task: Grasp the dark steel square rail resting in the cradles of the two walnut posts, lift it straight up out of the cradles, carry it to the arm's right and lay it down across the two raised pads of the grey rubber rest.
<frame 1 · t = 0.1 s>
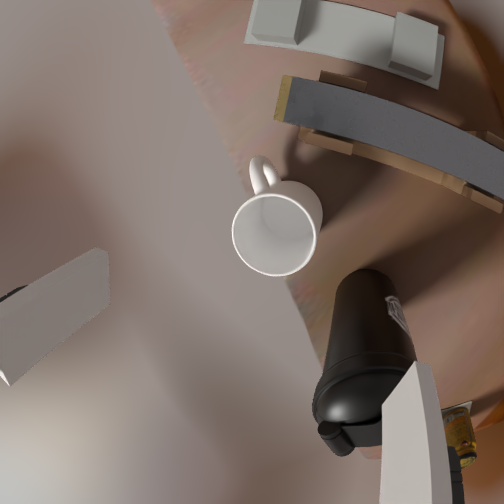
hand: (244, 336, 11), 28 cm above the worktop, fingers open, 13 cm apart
condiment: (450, 416, 41), on the worktop
rest: (346, 31, 27), on the worktop
rack: (401, 140, 30), on the worktop
mug: (286, 197, 37), on the worktop
water bottle: (365, 296, 39), on the worktop
rail: (417, 140, 23), point 8 cm above the worktop, touching rack
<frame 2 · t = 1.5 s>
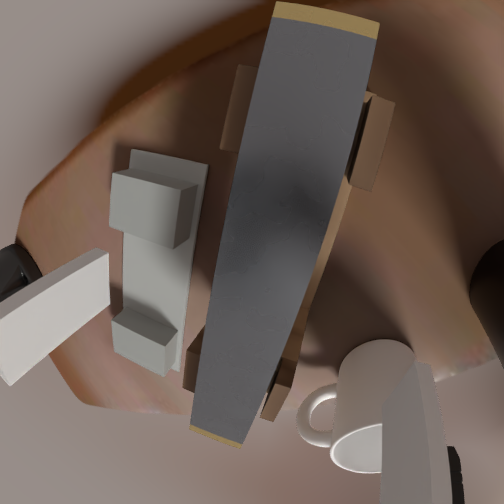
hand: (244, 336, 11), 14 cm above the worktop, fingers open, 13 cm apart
rest: (155, 275, 30), on the worktop
rack: (292, 228, 24), on the worktop
mug: (360, 369, 27), on the worktop
rail: (271, 268, 17), point 8 cm above the worktop, touching rack
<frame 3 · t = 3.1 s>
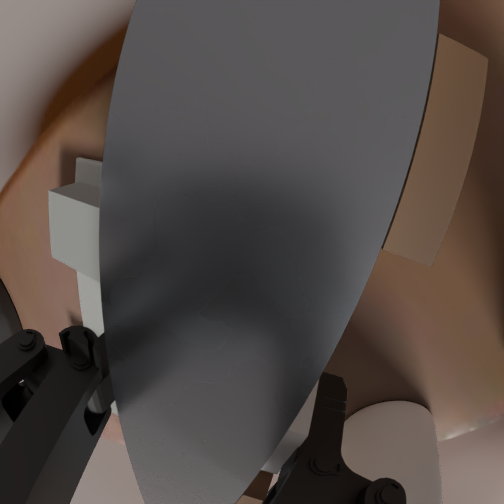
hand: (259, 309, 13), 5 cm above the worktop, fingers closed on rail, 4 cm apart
rest: (114, 312, 23), on the worktop
rack: (280, 267, 17), on the worktop
mug: (364, 429, 20), on the worktop
rail: (233, 358, 10), point 8 cm above the worktop, touching gripper, rack
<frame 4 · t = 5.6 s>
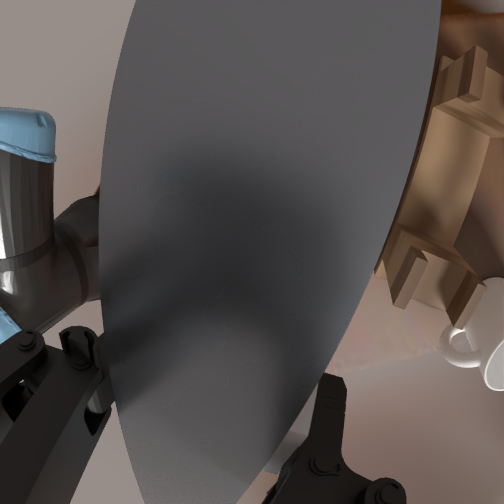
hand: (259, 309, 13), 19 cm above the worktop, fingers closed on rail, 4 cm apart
rack: (443, 176, 24), on the worktop
mug: (474, 309, 27), on the worktop
rail: (233, 359, 10), point 22 cm above the worktop, touching gripper
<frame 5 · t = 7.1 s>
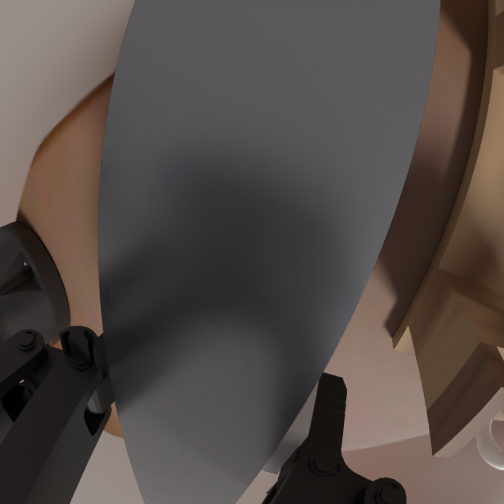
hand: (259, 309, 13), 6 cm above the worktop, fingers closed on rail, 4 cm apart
rail: (233, 359, 10), point 9 cm above the worktop, touching gripper
when the fingers open (2 cm above the worktop, at t = 8.2 s): rail drops 2 cm, resting on rest.
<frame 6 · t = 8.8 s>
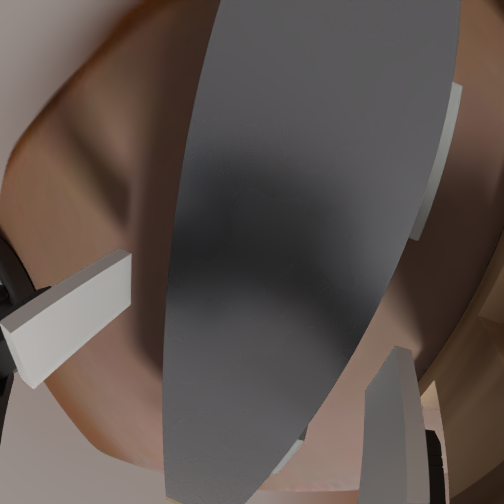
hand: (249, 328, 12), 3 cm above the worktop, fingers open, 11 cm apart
rest: (285, 300, 14), on the worktop
rail: (264, 343, 11), point 3 cm above the worktop, touching rest
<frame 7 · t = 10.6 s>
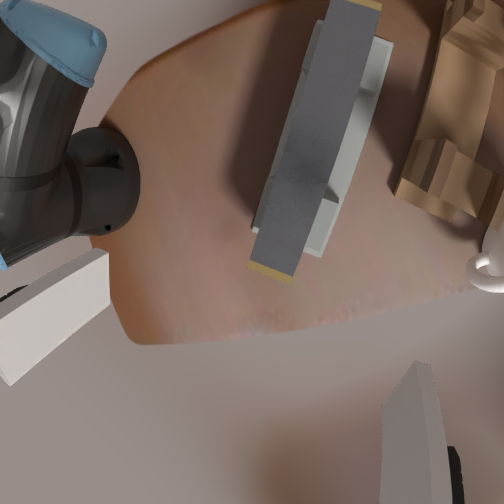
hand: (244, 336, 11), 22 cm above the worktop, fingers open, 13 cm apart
rest: (323, 135, 27), on the worktop
rack: (456, 103, 22), on the worktop
mug: (494, 246, 25), on the worktop
rail: (320, 133, 24), point 3 cm above the worktop, touching rest
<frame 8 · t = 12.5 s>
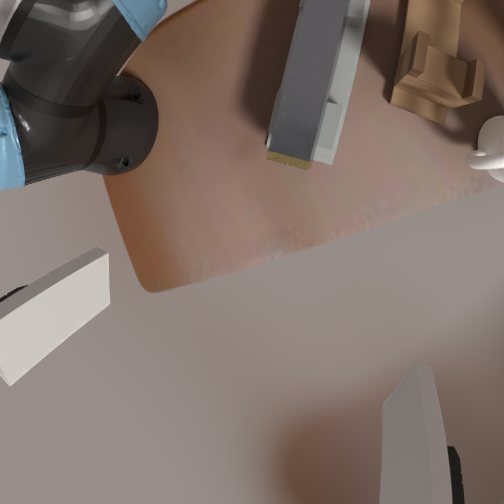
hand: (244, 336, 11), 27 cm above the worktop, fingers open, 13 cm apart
rest: (322, 59, 28), on the worktop
rack: (430, 30, 23), on the worktop
mug: (489, 150, 26), on the worktop
rail: (320, 51, 25), point 3 cm above the worktop, touching rest
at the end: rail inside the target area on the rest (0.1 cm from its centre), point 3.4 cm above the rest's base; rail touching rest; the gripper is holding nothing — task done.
